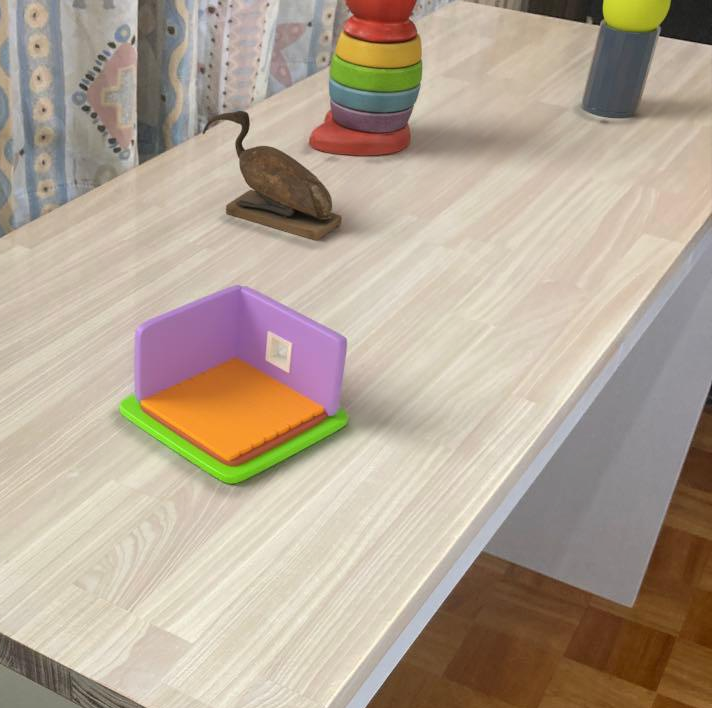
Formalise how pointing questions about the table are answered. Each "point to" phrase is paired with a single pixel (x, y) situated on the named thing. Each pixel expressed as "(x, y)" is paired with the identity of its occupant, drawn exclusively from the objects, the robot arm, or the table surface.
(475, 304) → the table surface
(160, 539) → the table surface
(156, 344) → the miniature room corner
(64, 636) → the table surface
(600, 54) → the cup
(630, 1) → the tennis ball
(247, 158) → the figurine
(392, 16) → the stacking bear
